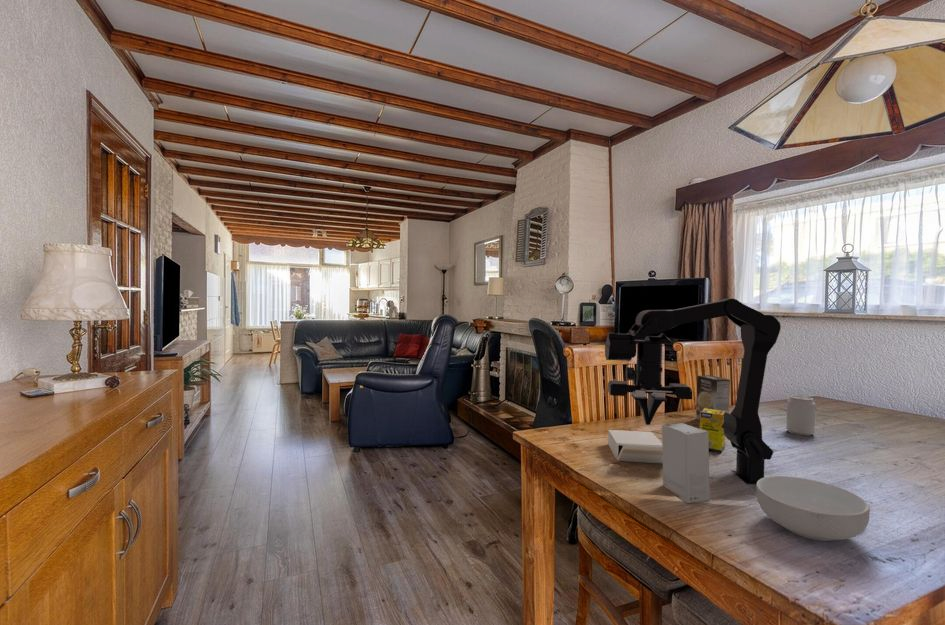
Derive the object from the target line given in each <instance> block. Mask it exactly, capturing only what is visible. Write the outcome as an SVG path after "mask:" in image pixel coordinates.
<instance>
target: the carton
mask: <svg viewBox="0 0 945 625" xmlns="http://www.w3.org/2000/svg"><path fill="white" fill-rule="evenodd" d="M607 436H608V438H607V445H608V447H609V448H610V450H611V452H612V454H613V456H614V458H615V459H616V460H617V458H618V456H619V447H623V445H628V446H645V447H662V441H661V440H660V439H659V438H658V437H657V436H656V435H655V434H654V433H653V432H652V431H640V430H639V431H636V430H635V431H634V430H622V429H621V430H620V429H619V430H618V429H616V430H615V429H608V433H607Z"/></svg>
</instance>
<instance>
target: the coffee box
mask: <svg viewBox="0 0 945 625" xmlns="http://www.w3.org/2000/svg"><path fill="white" fill-rule="evenodd" d="M730 387H731V380H730V379H729V378H724V377H721V376H717V375H712V374H708V375H707V374H706V375H697V376H696V398H695V399H696V402H695V405H696V406H695V420H698V421H700V412H701V411H702V410H703V409H704V408H707V409H713V410H720V411H726V412H727V413H730Z"/></svg>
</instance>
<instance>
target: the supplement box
mask: <svg viewBox="0 0 945 625" xmlns="http://www.w3.org/2000/svg"><path fill="white" fill-rule="evenodd" d="M724 412H726V411H720V410H713V409H707V408H704V409H703V410H702V411H701V412H700V420H699V429H701V430H704V431H707V432H708V446H709V450H711V451H710V452H713V451H716V452H715V453H718V452H721V453H720V454H722V453H723V451H724V449H725V447H726V446H725V445H726V436H725V435H724V429H723V428H721V426H722V425H723V422H724Z"/></svg>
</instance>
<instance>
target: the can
mask: <svg viewBox="0 0 945 625" xmlns="http://www.w3.org/2000/svg"><path fill="white" fill-rule="evenodd" d="M786 401H787V402H786V404H787V405H786V426H785V427H786V430H787V431H788V432H789V433H791V434H793V435H797V436H805V437H808V436H812V435H813V434H815V432H816V431H815V430H816V428H815V427H816V405H817V404H816V403H815V401H814V398H812V397H809V396H805V395H797V394H796V395H790V396H789V398H788V399H787V400H786Z"/></svg>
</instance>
